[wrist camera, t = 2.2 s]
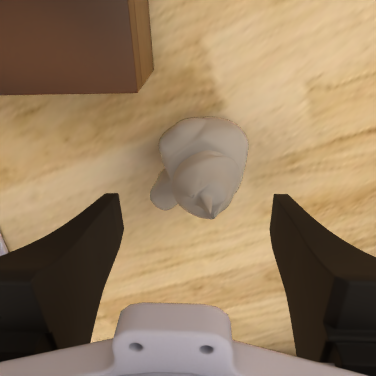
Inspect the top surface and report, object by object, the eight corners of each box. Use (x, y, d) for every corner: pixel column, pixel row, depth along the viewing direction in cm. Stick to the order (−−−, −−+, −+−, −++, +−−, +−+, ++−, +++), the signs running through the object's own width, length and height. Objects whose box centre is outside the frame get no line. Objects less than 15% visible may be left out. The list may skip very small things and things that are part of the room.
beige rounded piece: (264, 151, 21) (291, 227, 14) (186, 203, 24) (176, 290, 17) (213, 84, 19) (216, 135, 12) (133, 148, 22) (98, 221, 15)
